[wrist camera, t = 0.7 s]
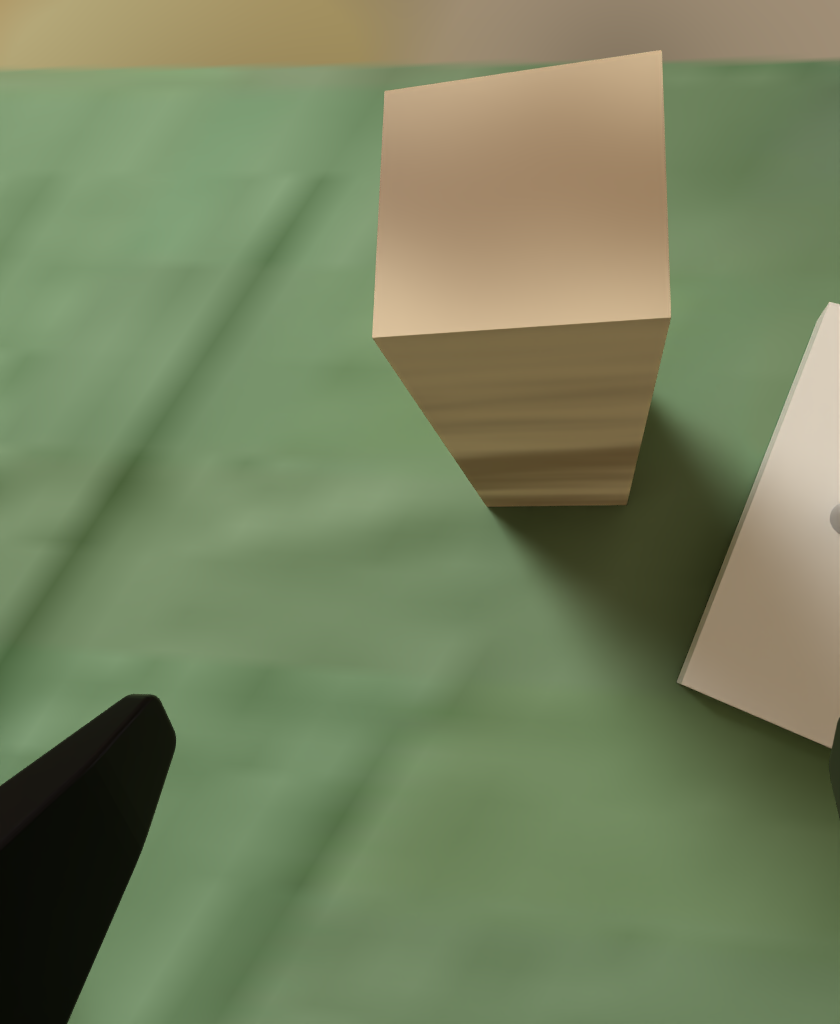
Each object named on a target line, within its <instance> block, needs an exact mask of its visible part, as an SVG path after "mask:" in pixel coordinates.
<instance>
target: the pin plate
mask: <svg viewBox="0 0 840 1024" xmlns="http://www.w3.org/2000/svg"><path fill="white" fill-rule="evenodd" d="M677 683H679V684H681V685H684V686H686V687H688V688H691V689H693V690H695V691H698V692H700V693H702V694H705V695H707V696H709V697H712V698H714V699H716V700H719V701H721V702H723V703H726V704H728V705H730V706H733V707H735V708H737V709H740V710H742V711H744V712H747V713H749V714H751V715H754V716H756V717H758V718H761V719H763V720H765V721H768V722H770V723H772V724H775V725H777V726H779V727H782V728H784V729H786V730H789V731H791V732H793V733H796V734H798V735H800V736H803V737H805V738H807V739H810V740H812V741H814V742H817V743H819V744H821V745H824V746H826V747H828V748H831V749H832V745H833V740H834V735H835V731H836V726H837V722H838V719H839V717H840V305H839V304H835V303H832V302H829V304H828V305H827V306H826V308H825V309H824V311H823V312H822V314H821V315H820V317H819V318H818V320H817V322H816V325H815V327H814V330H813V333H812V335H811V338H810V340H809V343H808V345H807V348H806V351H805V353H804V356H803V358H802V361H801V363H800V366H799V369H798V371H797V374H796V376H795V379H794V381H793V384H792V386H791V389H790V392H789V394H788V397H787V399H786V402H785V404H784V407H783V410H782V412H781V415H780V417H779V420H778V422H777V425H776V428H775V430H774V433H773V435H772V438H771V440H770V443H769V446H768V448H767V451H766V453H765V456H764V458H763V461H762V464H761V466H760V469H759V471H758V474H757V476H756V479H755V482H754V484H753V487H752V489H751V492H750V494H749V497H748V500H747V502H746V505H745V507H744V510H743V512H742V515H741V518H740V520H739V523H738V525H737V528H736V530H735V533H734V536H733V538H732V541H731V543H730V546H729V548H728V551H727V554H726V556H725V559H724V561H723V564H722V566H721V569H720V572H719V574H718V577H717V579H716V582H715V584H714V587H713V590H712V592H711V595H710V597H709V600H708V602H707V605H706V608H705V610H704V613H703V615H702V618H701V620H700V623H699V626H698V628H697V631H696V633H695V636H694V638H693V641H692V644H691V646H690V649H689V651H688V654H687V656H686V659H685V662H684V664H683V667H682V669H681V672H680V674H679V677H678V680H677Z"/></svg>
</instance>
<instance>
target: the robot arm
mask: <svg viewBox="0 0 840 1024" xmlns="http://www.w3.org/2000/svg"><path fill="white" fill-rule="evenodd" d="M175 747H176V735H175V731H174V729H173V727H172V724H171V722H170V720H169V718H168V716H167V714H166V711H165V709H164V707H163V705H162V703H161V701H160V699H159V698H158V697H156V696H155V695H149V694H131V695H128V696H126V697H124V698H122V699H121V700H120V701H118V702H117V703H115V704H114V705H113V706H111V707H110V708H108V709H107V710H106V711H104V712H103V713H101V714H100V715H99V716H97V717H96V718H94V719H93V720H92V721H90V722H89V723H87V724H86V725H85V726H83V727H82V728H80V729H79V730H78V731H76V732H75V733H73V734H72V735H71V736H69V737H68V738H66V739H65V740H64V741H62V742H61V743H59V744H58V745H57V746H55V747H54V748H53V749H51V750H50V751H48V752H47V753H46V754H44V755H43V756H41V757H40V758H39V759H37V760H36V761H34V762H33V763H32V764H30V765H29V766H27V767H26V768H25V769H23V770H22V771H20V772H19V773H18V774H16V775H15V776H13V777H12V778H11V779H9V780H8V781H6V782H5V783H4V784H2V785H1V786H0V1024H67V1023H68V1020H69V1018H70V1016H71V1014H72V1011H73V1009H74V1007H75V1004H76V1002H77V1000H78V997H79V995H80V993H81V991H82V988H83V986H84V984H85V981H86V979H87V977H88V974H89V972H90V970H91V967H92V965H93V963H94V961H95V958H96V956H97V954H98V951H99V949H100V947H101V944H102V942H103V940H104V938H105V935H106V933H107V931H108V928H109V926H110V924H111V921H112V919H113V917H114V914H115V912H116V910H117V908H118V905H119V903H120V901H121V898H122V896H123V894H124V891H125V889H126V887H127V885H128V882H129V880H130V878H131V875H132V873H133V871H134V868H135V866H136V864H137V861H138V859H139V856H140V854H141V851H142V849H143V846H144V843H145V840H146V837H147V835H148V832H149V829H150V826H151V822H152V819H153V816H154V813H155V810H156V807H157V804H158V801H159V798H160V795H161V792H162V789H163V785H164V782H165V779H166V776H167V773H168V770H169V767H170V764H171V761H172V758H173V755H174V751H175ZM829 772H830V779H831V783H832V788H833V792H834V796H835V801H836V805H837V809H838V814H839V818H840V717H839V719H838V722H837V726H836V731H835V735H834V740H833V745H832V749H831V754H830V759H829Z"/></svg>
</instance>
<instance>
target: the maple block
mask: <svg viewBox="0 0 840 1024" xmlns="http://www.w3.org/2000/svg"><path fill="white" fill-rule="evenodd" d="M670 319H671V303H670V275H669V246H668V217H667V188H666V159H665V131H664V102H663V73H662V50H659V51H652V52H645V53H639V54H632V55H626V56H618V57H612V58H605V59H598V60H591V61H585V62H578V63H571V64H564V65H558V66H551V67H544V68H537V69H531V70H524V71H517V72H511V73H504V74H497V75H490V76H484V77H477V78H470V79H463V80H457V81H450V82H443V83H436V84H430V85H423V86H416V87H410V88H403V89H396V90H389V91H385V96H384V116H383V136H382V155H381V175H380V195H379V215H378V235H377V255H376V274H375V294H374V314H373V334H372V338H373V339H374V341H375V342H376V344H377V345H378V347H379V348H380V350H381V351H382V353H383V354H384V356H385V357H386V359H387V360H388V362H389V363H390V365H391V366H392V367H393V369H394V370H395V372H396V373H397V375H398V376H399V378H400V379H401V381H402V382H403V384H404V385H405V387H406V388H407V390H408V391H409V393H410V394H411V396H412V397H413V398H414V400H415V401H416V403H417V404H418V406H419V407H420V409H421V410H422V412H423V413H424V415H425V416H426V418H427V419H428V421H429V422H430V424H431V425H432V426H433V428H434V429H435V431H436V432H437V434H438V435H439V437H440V438H441V440H442V441H443V443H444V444H445V446H446V447H447V449H448V450H449V452H450V453H451V455H452V456H453V457H454V459H455V460H456V462H457V463H458V465H459V466H460V468H461V469H462V471H463V472H464V474H465V475H466V477H467V478H468V480H469V481H470V483H471V484H472V485H473V487H474V488H475V490H476V491H477V493H478V494H479V496H480V497H481V499H482V500H483V502H484V503H485V505H486V506H487V507H504V506H587V505H627V501H628V497H629V493H630V489H631V484H632V480H633V476H634V472H635V468H636V463H637V459H638V455H639V451H640V446H641V442H642V438H643V434H644V429H645V425H646V421H647V417H648V413H649V408H650V404H651V400H652V396H653V391H654V387H655V383H656V379H657V374H658V370H659V366H660V362H661V358H662V353H663V349H664V345H665V341H666V336H667V332H668V328H669V324H670Z"/></svg>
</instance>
